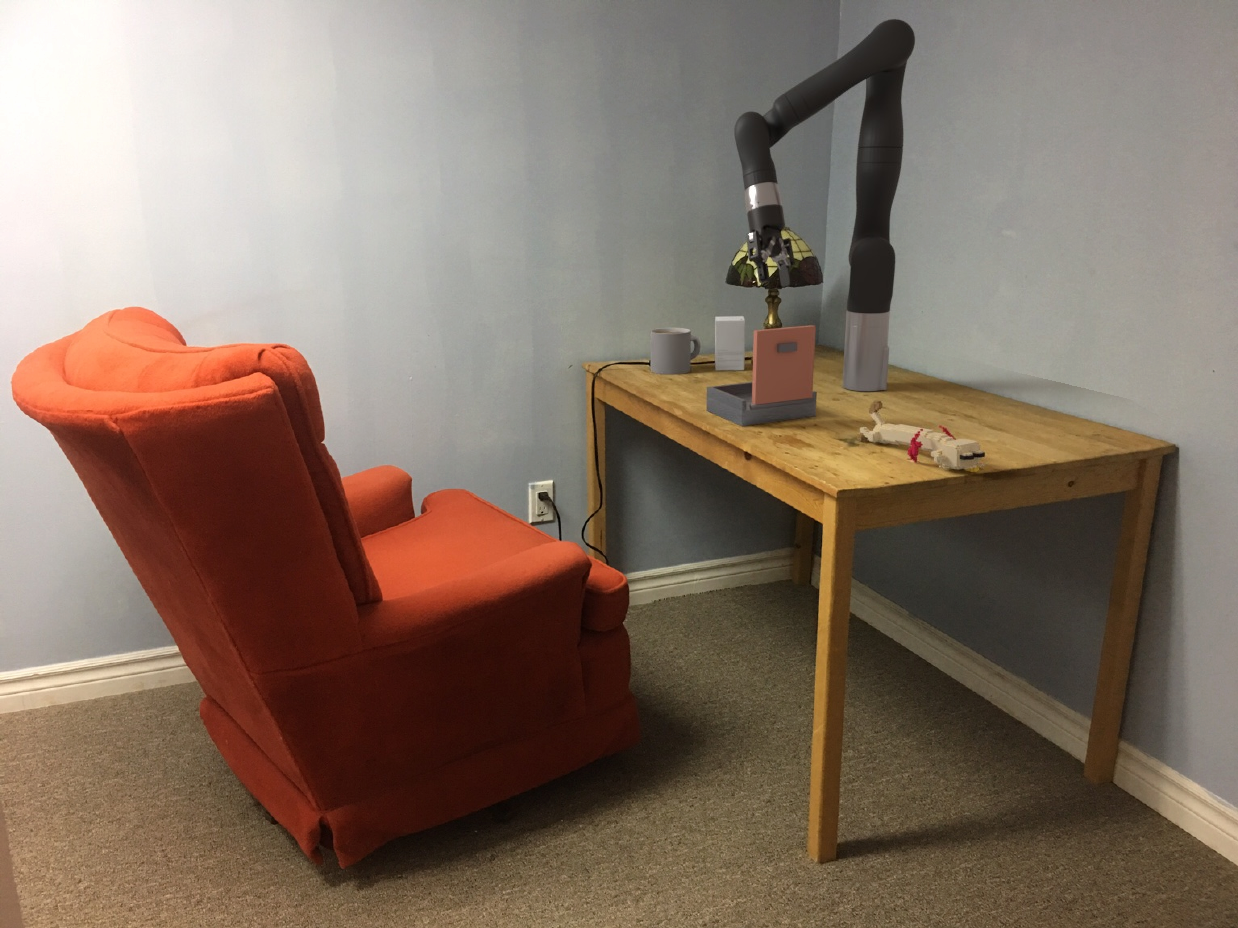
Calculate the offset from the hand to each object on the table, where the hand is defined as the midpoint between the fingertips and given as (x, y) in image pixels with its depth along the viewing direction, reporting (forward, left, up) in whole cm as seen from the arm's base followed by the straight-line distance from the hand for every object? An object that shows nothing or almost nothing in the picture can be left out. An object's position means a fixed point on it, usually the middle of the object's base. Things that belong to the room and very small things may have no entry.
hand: (775, 284), depth 194 cm
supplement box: (+9, -31, -24) cm, 40 cm away
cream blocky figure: (-23, +45, -25) cm, 56 cm away
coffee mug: (+22, -28, -24) cm, 43 cm away
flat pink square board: (-1, +23, -20) cm, 31 cm away
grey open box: (+3, +16, -24) cm, 29 cm away
